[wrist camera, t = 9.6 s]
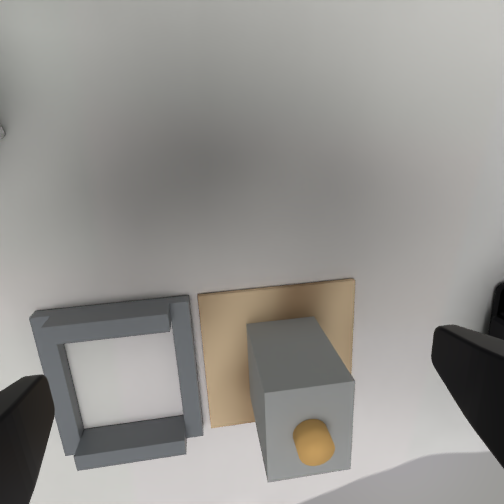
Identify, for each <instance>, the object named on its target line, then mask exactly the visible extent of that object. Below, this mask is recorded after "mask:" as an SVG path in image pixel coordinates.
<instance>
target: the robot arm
mask: <svg viewBox="0 0 504 504" xmlns="http://www.w3.org/2000/svg"><path fill="white" fill-rule="evenodd" d="M431 359H432V363H433V365H434V367H435V369H436V371H437V372H438V374H439V375H440V377H441V379H442V380H443V382H444V384H445V385H446V387H447V388H448V390H449V392H450V393H451V395H452V397H453V398H454V400H455V401H456V403H457V405H458V406H459V408H460V409H461V411H462V413H463V414H464V416H465V417H466V419H467V420H468V422H469V423H470V424H471V426H472V427H473V429H474V430H475V431H476V433H477V434H478V435H479V437H480V438H481V439H482V441H483V442H484V443H485V445H486V446H487V447H488V449H489V450H490V451H491V452H492V454H493V455H494V456H495V458H496V459H497V460H498V462H499V463H500V464H501V466H502V467H503V468H504V283H502V284H500V285H499V286H498V287H497V289H496V292H495V298H494V304H493V310H492V315H491V321H490V327H489V333H488V335H486V334H482V333H479V332H476V331H473V330H470V329H466V328H463V327H460V326H457V325H445V326H438V327H437V328H436V329H435V331H434V337H433V345H432V353H431ZM54 415H55V406H54V401H53V398H52V394H51V390H50V386H49V382H48V379H47V378H46V376H44V375H32V376H25V377H22V378H21V379H19V380H18V381H16V382H14V383H13V384H11V385H10V386H8V387H7V388H5V389H3V390H2V391H0V504H29V502H30V499H31V497H32V494H33V491H34V488H35V485H36V482H37V478H38V475H39V471H40V468H41V464H42V460H43V457H44V453H45V449H46V446H47V442H48V438H49V434H50V431H51V427H52V423H53V420H54Z"/></svg>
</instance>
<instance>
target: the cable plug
mask: <svg viewBox="0 0 504 504" xmlns="http://www.w3.org/2000/svg"><path fill="white" fill-rule="evenodd" d="M246 329H247V347H248V366H249V384H250V398H251V403H252V408H253V412H254V417H255V422H256V427H257V432H258V437H259V442H260V446H261V451H262V456H263V461H264V466H265V471H266V476H267V480H268V482H274V481H280V480H286V479H292V478H299V477H305V476H311V475H317V474H323V473H329V472H336V471H342V470H348V469H351V450H352V430H353V411H354V392H355V380H354V379H353V377H352V375H351V374H350V372H349V371H348V369H347V368H346V366H345V364H344V363H343V361H342V360H341V358H340V356H339V355H338V353H337V352H336V350H335V349H334V347H333V345H332V344H331V342H330V341H329V339H328V338H327V336H326V334H325V333H324V331H323V330H322V328H321V327H320V325H319V323H318V322H317V320H316V319H315V317H314V316H313V317H304V318H295V319H285V320H276V321H267V322H258V323H249V324H246Z"/></svg>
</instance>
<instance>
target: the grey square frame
mask: <svg viewBox="0 0 504 504" xmlns="http://www.w3.org/2000/svg"><path fill="white" fill-rule="evenodd" d="M29 320H30V323H31V327H32V331H33V335H34V339H35V342H36V346H37V350H38V354H39V358H40V361H41V365H42V369H43V373H44V376H46V378H47V379H48V382H49V386H50V390H51V394H52V398H53V401H54V406H55V418H56V422H57V426H58V430H59V433H60V437H61V441H62V445H63V449H64V452H65V456H68V455H74V460H75V464H76V468H77V471H79V470H86V469H92V468H99V467H105V466H112V465H119V464H125V463H132V462H138V461H145V460H151V459H158V458H164V457H171V456H178V455H184V454H186V446H187V438H190V437H197V436H203V421H202V412H201V403H200V394H199V385H198V376H197V367H196V358H195V348H194V339H193V330H192V321H191V312H190V303H189V295H187V296H177V297H167V298H158V299H148V300H138V301H128V302H119V303H109V304H99V305H89V306H80V307H70V308H60V309H51V310H41V311H35V312H34V313H33V314H32V316H31V317H30V318H29ZM171 320H172V328H173V336H174V344H175V351H176V359H177V367H178V375H179V382H180V390H181V398H182V405H183V413H184V415H183V416H176V417H169V418H162V419H155V420H148V421H140V422H133V423H126V424H119V425H112V426H105V427H98V428H91V429H84V428H83V424H82V419H81V415H80V411H79V407H78V403H77V398H76V394H75V390H74V386H73V381H72V377H71V373H70V369H69V364H68V360H67V356H66V352H65V348H64V344H66V343H75V342H84V341H93V340H101V339H110V338H119V337H128V336H137V335H145V334H154V333H163V332H170V329H171Z"/></svg>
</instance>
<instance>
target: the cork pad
mask: <svg viewBox="0 0 504 504" xmlns="http://www.w3.org/2000/svg"><path fill="white" fill-rule="evenodd" d="M354 297H355V280H354V279H343V280H333V281H323V282H314V283H304V284H294V285H284V286H275V287H265V288H255V289H245V290H236V291H226V292H216V293H206V294H198V304H199V314H200V323H201V333H202V343H203V353H204V362H205V372H206V382H207V392H208V402H209V411H210V421H211V428H216V427H223V426H230V425H237V424H244V423H251V422H255V417H254V412H253V408H252V403H251V398H250V384H249V366H248V347H247V329H246V324H249V323H258V322H267V321H276V320H285V319H295V318H304V317H313V316H314V317H315V319H316V320H317V322H318V323H319V325H320V327H321V328H322V330H323V331H324V333H325V334H326V336H327V338H328V339H329V341H330V342H331V344H332V345H333V347H334V349H335V350H336V352H337V353H338V355H339V356H340V358H341V360H342V361H343V363H344V364H345V366H346V368H347V369H348V371H349V372H350V374H351V367H352V344H353V321H354Z"/></svg>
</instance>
